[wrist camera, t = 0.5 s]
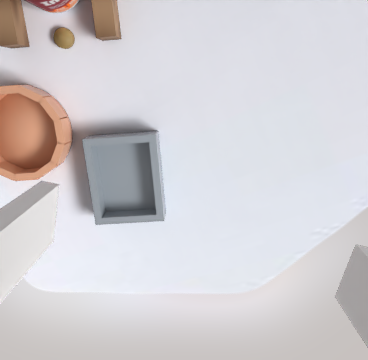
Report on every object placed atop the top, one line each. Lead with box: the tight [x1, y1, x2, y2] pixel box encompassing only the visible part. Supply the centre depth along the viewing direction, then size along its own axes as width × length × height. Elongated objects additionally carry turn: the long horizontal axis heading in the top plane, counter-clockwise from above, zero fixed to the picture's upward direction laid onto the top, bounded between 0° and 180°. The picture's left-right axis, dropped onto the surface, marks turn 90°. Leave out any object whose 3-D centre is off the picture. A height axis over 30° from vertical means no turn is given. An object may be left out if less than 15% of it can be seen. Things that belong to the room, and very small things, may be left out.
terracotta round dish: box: [0, 85, 72, 181], centre depth 37 cm, size 10×10×3 cm
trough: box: [82, 131, 166, 225], centre depth 39 cm, size 10×8×3 cm
